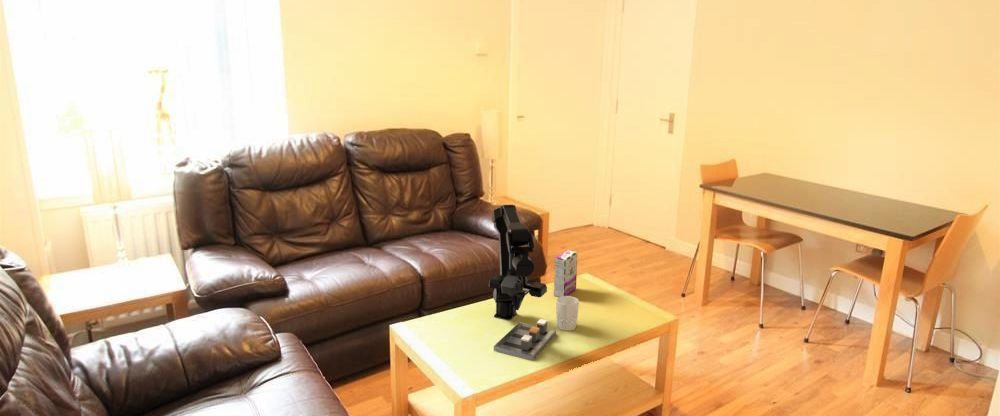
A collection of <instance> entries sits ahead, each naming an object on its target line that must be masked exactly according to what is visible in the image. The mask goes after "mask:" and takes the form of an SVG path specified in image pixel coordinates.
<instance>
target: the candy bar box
mask: <svg viewBox="0 0 1000 416" xmlns="http://www.w3.org/2000/svg"><path fill="white" fill-rule="evenodd" d="M577 266H578V251H575V250H570V249H567V250H564V251H563V252H561V253H560V254H558V255H557V256H555V257H554V278H553V279H554V282H553V286H554V288H553V289H554V290H553V296H554V297H556V298H558V297H561V296H570V295H571V294H572V293H573V292H575V291H576V290H577V273H578V272H577V271H578V267H577Z"/></svg>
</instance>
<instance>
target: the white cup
mask: <svg viewBox="0 0 1000 416" xmlns="http://www.w3.org/2000/svg"><path fill="white" fill-rule="evenodd" d="M555 302H556V308H555V309H556V311H555V312H556V327H557V328H558V329H559V330H560V331H561V330H562V331H568V332H569V331H574V330H575V329H576V328H577V323H578V322H577V321H578V316H579V306H580V300H579V298H577V297H574V296H571V295H568V296H561V297H556V299H555Z"/></svg>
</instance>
